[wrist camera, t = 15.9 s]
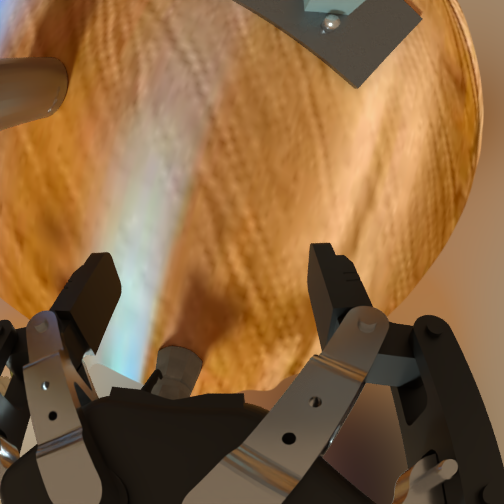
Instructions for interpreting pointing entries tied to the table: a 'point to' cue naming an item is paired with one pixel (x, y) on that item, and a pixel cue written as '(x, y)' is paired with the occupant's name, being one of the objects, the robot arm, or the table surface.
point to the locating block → (332, 6)
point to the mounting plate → (342, 32)
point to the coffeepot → (174, 373)
